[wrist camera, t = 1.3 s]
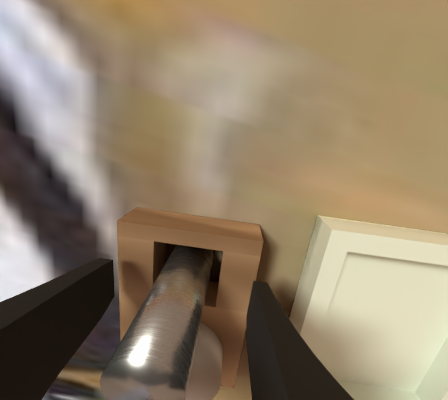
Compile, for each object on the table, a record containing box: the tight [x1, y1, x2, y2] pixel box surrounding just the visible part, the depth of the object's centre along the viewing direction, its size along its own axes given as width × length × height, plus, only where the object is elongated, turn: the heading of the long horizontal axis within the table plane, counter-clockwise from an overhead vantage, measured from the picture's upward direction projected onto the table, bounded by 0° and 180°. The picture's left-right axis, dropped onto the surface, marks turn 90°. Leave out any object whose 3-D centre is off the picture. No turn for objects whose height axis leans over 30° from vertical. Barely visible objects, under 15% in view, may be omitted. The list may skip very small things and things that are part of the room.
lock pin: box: [100, 245, 214, 400], centre depth 9 cm, size 2×2×7 cm
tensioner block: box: [117, 207, 263, 400], centre depth 11 cm, size 10×7×4 cm
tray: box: [289, 216, 448, 400], centre depth 12 cm, size 12×10×2 cm
